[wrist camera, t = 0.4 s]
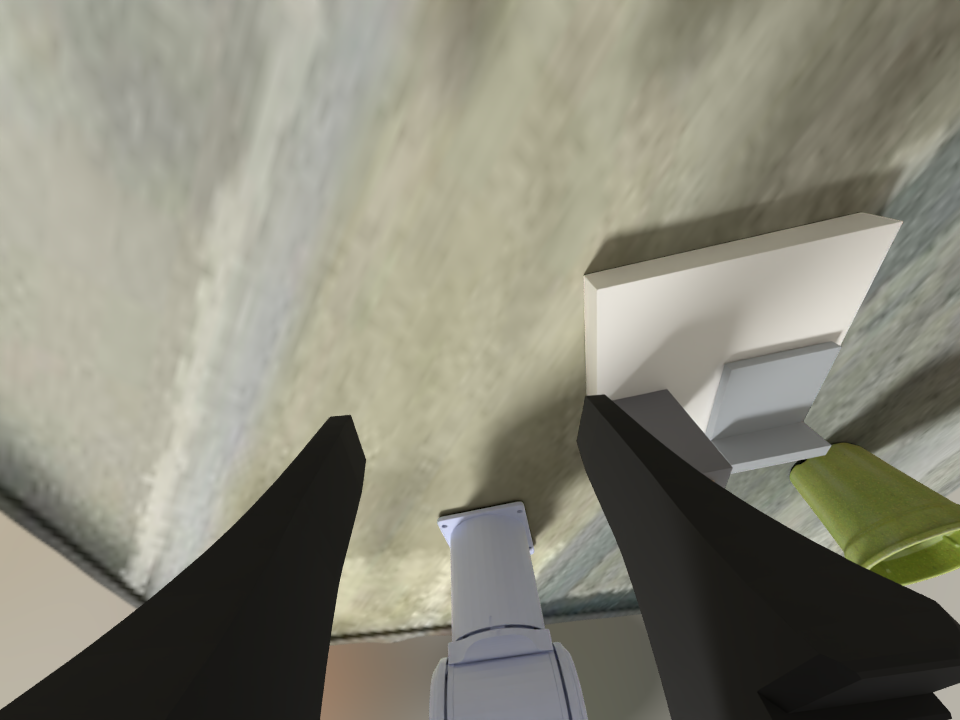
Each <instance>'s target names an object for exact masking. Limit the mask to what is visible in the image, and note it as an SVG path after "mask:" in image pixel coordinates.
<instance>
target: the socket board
mask: <svg viewBox="0 0 960 720" xmlns="http://www.w3.org/2000/svg"><path fill="white" fill-rule="evenodd" d="M902 223H903V221H900V220H895V219H891V218H886V217H882V216H877V215H872V214H868V213H863V212H860V213H856V214H852V215H847V216H843V217H838V218H834V219H829V220H825V221H821V222H816V223H812V224H807V225H803V226H799V227H794V228H790V229H785V230H781V231H777V232H772V233H768V234H763V235H759V236H754V237H750V238H746V239H741V240H737V241H732V242H728V243H724V244H719V245H715V246H710V247H706V248H701V249H697V250H693V251H688V252H684V253H679V254H675V255H671V256H666V257H662V258H657V259H653V260H648V261H644V262H640V263H635V264H631V265H626V266H622V267H618V268H613V269H609V270H604V271H600V272H595V273H591V274H587V275H584V315H585V357H586V396H590V395H602V394H605V395H606V396H607V397H608V398H610V399H611V400H617V399H622V398H626V397H631V396H636V395H641V394H646V393H650V392H655V391H660V390H665V389H668V391H669V392H670V393H671V394H672V395H673V397H674V398H675V399H676V400H677V401H678V402H679V404H680V405H681V406H682V407H683V408H684V410H685V411H686V412H687V413H688V414H689V416H690V417H691V418H692V419H693V420H694V422H695V423H696V424H697V425H698V426H699V428H700V429H701V430H702V431H703V432H704V434H705V433H706V430H707V426H708V423H709V419H710V415H711V412H712V408H713V404H714V401H715V397H716V394H717V390H718V386H719V383H720V379H721V376H722V372H723V368H724V365H725V364H727V363H732V362H736V361H741V360H746V359H751V358H755V357H760V356H765V355H769V354H774V353H779V352H784V351H788V350H793V349H798V348H803V347H807V346H812V345H817V344H821V343H826V342H831V341H833V342H834V343H836V344H838V345H841V343H842V341H843V339H844V337H845V335H846V333H847V331H848V329H849V327H850V325H851V323H852V321H853V319H854V317H855V315H856V313H857V311H858V309H859V307H860V305H861V303H862V301H863V299H864V298H865V296H866V294H867V292H868V290H869V288H870V286H871V284H872V282H873V280H874V278H875V276H876V274H877V272H878V270H879V268H880V266H881V264H882V262H883V260H884V258H885V256H886V254H887V252H888V250H889V248H890V246H891V244H892V242H893V240H894V238H895V236H896V234H897V232H898V230H899V228H900V226H901V224H902Z"/></svg>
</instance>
